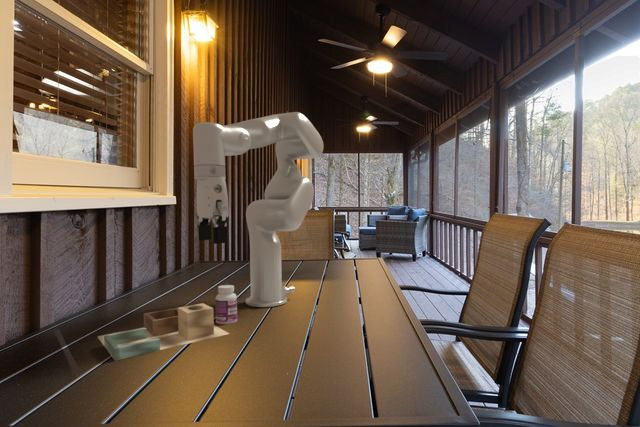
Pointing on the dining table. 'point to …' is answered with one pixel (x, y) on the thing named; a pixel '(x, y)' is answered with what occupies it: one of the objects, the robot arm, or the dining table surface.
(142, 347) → the board
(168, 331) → the walnut ring block
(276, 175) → the robot arm
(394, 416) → the dining table surface
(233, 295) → the pill bottle
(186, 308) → the oak block
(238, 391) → the dining table surface
